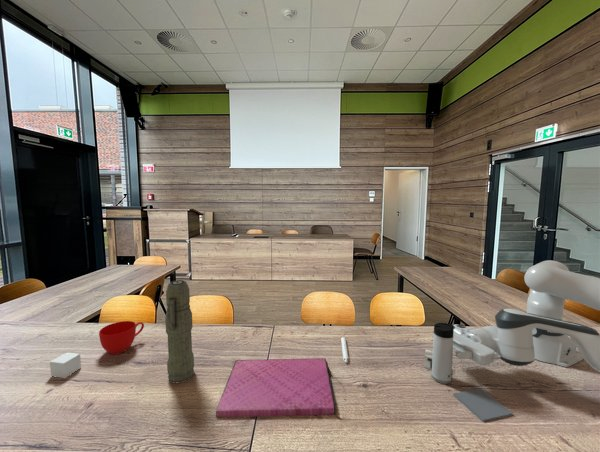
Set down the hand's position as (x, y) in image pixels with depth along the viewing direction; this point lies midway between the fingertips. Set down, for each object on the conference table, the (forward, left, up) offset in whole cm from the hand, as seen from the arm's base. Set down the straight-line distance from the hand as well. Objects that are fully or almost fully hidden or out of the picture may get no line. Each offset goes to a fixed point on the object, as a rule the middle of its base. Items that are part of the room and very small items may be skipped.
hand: (445, 348), depth 94 cm
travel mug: (+1, -1, -12) cm, 12 cm away
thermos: (+93, -24, -12) cm, 96 cm away
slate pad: (-2, +13, -12) cm, 18 cm away
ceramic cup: (+121, -49, -12) cm, 130 cm away
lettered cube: (-1, -8, -12) cm, 14 cm away
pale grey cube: (+135, -35, -12) cm, 139 cm away
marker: (+28, -24, -12) cm, 39 cm away
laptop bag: (+57, -10, -12) cm, 59 cm away
